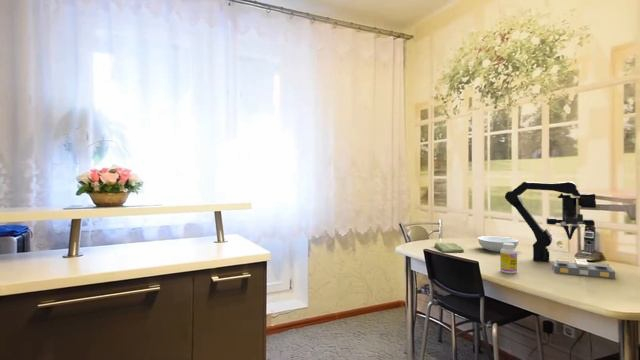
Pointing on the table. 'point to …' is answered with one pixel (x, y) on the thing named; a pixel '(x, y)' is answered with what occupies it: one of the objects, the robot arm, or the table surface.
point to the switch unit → (584, 270)
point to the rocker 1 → (563, 261)
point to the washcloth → (449, 247)
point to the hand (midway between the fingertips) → (569, 239)
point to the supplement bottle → (508, 258)
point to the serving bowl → (495, 242)
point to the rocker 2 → (581, 262)
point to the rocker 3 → (601, 264)
